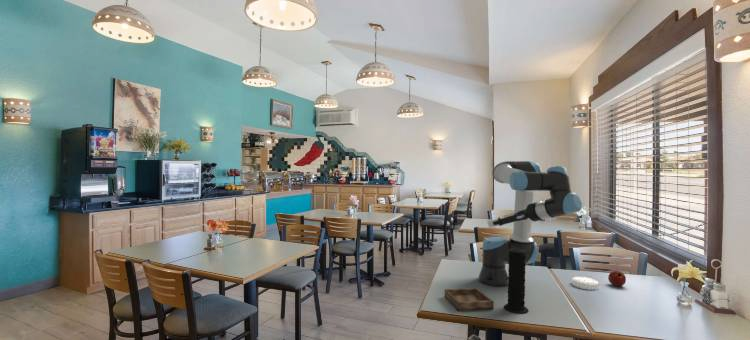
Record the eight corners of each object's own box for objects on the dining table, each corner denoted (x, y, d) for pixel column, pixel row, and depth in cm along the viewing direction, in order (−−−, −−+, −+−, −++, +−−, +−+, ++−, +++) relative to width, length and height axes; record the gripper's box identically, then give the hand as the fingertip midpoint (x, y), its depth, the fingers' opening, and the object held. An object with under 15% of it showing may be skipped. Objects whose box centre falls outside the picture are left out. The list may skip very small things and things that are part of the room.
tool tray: (476, 295, 164) (476, 287, 164) (493, 309, 148) (493, 301, 148) (444, 296, 161) (444, 289, 161) (458, 311, 146) (458, 303, 146)
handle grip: (529, 315, 143) (527, 306, 152) (531, 252, 142) (528, 246, 152) (504, 311, 146) (503, 302, 155) (505, 249, 145) (504, 244, 155)
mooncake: (566, 283, 183) (566, 277, 182) (581, 281, 187) (582, 274, 187) (588, 291, 172) (588, 284, 171) (604, 288, 176) (604, 281, 176)
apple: (610, 287, 178) (610, 271, 178) (606, 282, 185) (606, 267, 185) (627, 289, 175) (627, 273, 175) (622, 284, 182) (623, 269, 182)
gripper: (550, 196, 150) (508, 207, 166) (521, 208, 134) (478, 219, 151) (557, 213, 148) (514, 222, 165) (528, 226, 133) (484, 235, 149)
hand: (496, 221), depth 158 cm, fingers open, 13 cm apart
